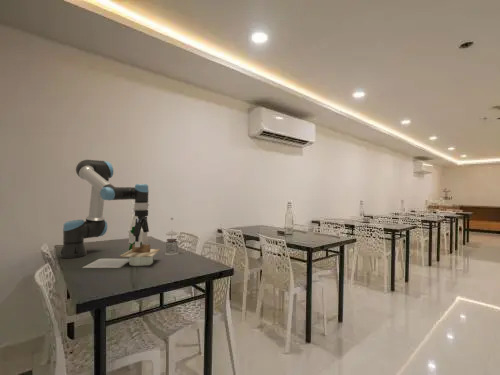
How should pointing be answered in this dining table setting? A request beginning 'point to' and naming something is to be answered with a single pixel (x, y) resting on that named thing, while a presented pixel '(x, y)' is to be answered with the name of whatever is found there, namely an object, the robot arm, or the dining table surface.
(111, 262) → the rubber mat
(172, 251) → the french press
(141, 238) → the milk carton
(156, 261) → the dining table surface
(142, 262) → the ceramic bowl
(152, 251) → the birch board
